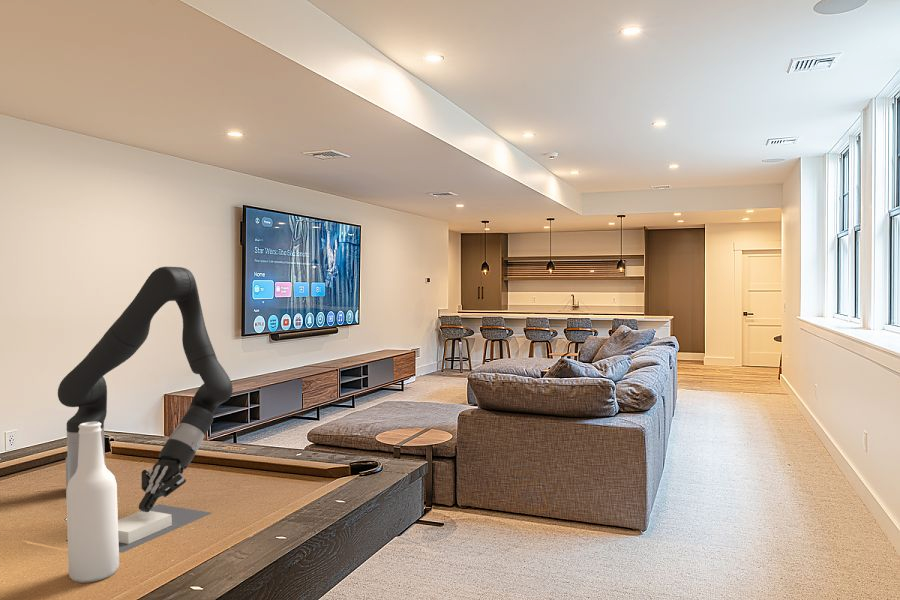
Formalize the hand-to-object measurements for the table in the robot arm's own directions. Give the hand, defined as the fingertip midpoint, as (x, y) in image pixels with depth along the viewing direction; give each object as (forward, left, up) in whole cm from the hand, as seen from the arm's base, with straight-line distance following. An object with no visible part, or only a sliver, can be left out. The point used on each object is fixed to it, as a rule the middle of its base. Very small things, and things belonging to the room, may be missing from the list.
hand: (143, 510), depth 152 cm
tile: (0, +4, -3) cm, 5 cm away
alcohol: (+10, -20, -5) cm, 23 cm away
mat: (-2, +2, -5) cm, 6 cm away
